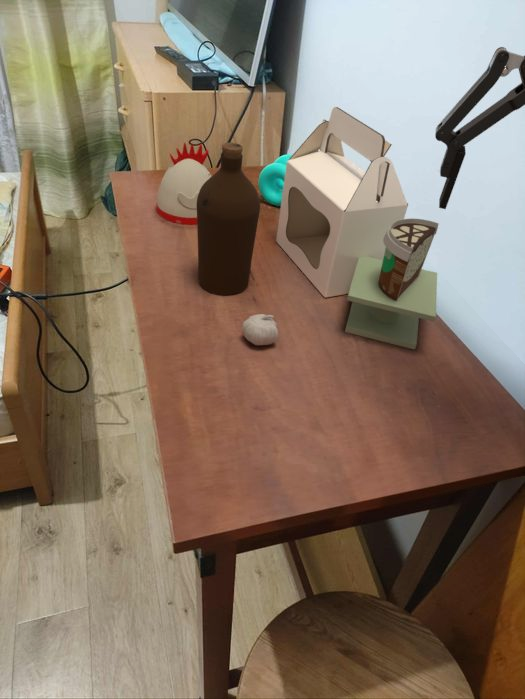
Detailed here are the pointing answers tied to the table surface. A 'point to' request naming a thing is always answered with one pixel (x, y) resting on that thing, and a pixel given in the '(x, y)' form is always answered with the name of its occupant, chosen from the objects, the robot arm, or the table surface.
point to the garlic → (260, 329)
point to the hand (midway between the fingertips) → (500, 216)
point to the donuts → (273, 180)
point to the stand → (389, 306)
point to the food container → (405, 254)
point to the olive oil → (227, 226)
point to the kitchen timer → (182, 186)
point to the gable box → (338, 203)
